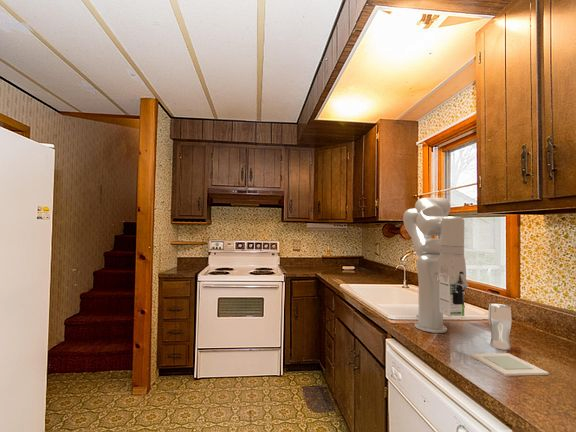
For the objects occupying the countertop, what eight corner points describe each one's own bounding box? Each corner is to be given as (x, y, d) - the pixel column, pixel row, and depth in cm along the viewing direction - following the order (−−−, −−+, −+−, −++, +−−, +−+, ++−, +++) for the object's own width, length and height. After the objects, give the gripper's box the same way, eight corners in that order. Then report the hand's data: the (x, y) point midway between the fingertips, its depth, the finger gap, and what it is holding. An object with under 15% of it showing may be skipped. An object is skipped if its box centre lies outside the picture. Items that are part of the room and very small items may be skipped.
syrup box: (449, 316, 103) (449, 274, 103) (438, 311, 109) (439, 271, 109) (464, 316, 104) (464, 274, 104) (453, 311, 109) (453, 272, 110)
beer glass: (489, 342, 114) (489, 302, 115) (512, 346, 109) (511, 305, 110) (487, 347, 108) (487, 305, 109) (511, 352, 104) (510, 308, 105)
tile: (470, 355, 100) (470, 353, 100) (508, 355, 102) (508, 352, 102) (505, 375, 86) (505, 373, 86) (548, 374, 88) (548, 371, 88)
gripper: (428, 248, 115) (427, 295, 114) (458, 253, 98) (458, 308, 97) (446, 248, 116) (446, 295, 115) (479, 253, 99) (479, 308, 98)
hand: (451, 301), depth 106 cm, fingers closed on syrup box, 5 cm apart
